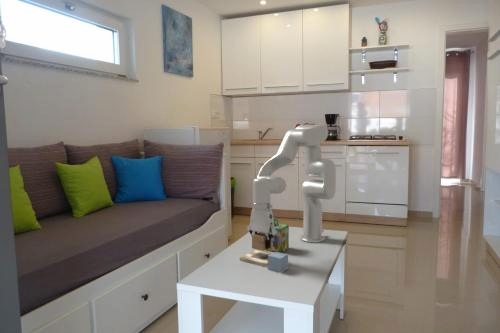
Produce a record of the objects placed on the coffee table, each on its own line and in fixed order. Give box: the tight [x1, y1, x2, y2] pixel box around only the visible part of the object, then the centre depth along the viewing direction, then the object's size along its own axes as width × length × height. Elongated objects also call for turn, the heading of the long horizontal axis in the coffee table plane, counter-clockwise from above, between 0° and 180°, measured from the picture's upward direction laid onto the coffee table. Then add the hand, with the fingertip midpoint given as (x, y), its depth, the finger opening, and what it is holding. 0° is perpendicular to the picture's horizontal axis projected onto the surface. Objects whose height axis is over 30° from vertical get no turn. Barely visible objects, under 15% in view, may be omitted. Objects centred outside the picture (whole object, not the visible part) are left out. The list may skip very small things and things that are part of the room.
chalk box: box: [265, 217, 290, 253], centre depth 177 cm, size 9×9×15 cm
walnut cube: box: [251, 232, 271, 251], centre depth 162 cm, size 6×6×6 cm
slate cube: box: [267, 251, 289, 274], centre depth 151 cm, size 6×6×6 cm
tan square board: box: [239, 249, 274, 268], centre depth 163 cm, size 14×14×2 cm
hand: (261, 246), depth 163 cm, fingers closed on walnut cube, 6 cm apart
